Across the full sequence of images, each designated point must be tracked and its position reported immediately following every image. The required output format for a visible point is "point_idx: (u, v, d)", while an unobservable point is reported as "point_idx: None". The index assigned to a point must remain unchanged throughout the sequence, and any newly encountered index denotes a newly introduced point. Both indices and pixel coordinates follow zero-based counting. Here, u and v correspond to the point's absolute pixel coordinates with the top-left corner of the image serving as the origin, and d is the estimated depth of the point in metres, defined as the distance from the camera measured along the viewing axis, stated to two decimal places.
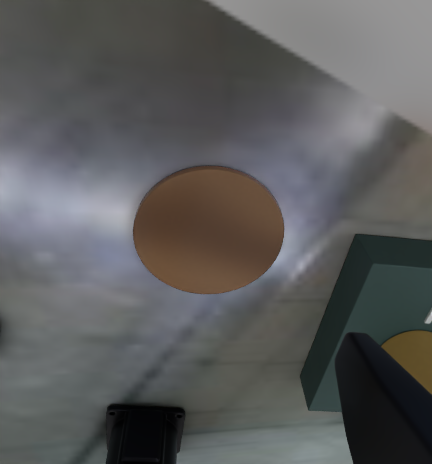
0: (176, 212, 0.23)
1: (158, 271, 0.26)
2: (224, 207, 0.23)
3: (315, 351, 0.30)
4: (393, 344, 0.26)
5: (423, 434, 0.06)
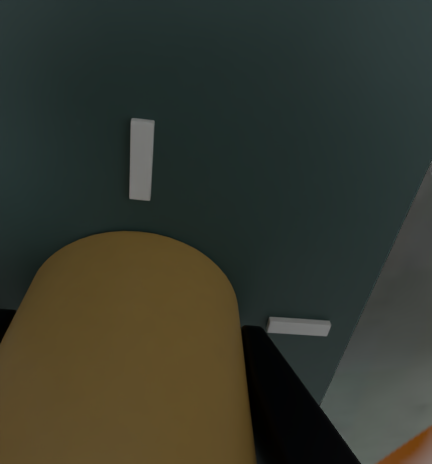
0: None
1: None
2: None
3: None
4: (36, 278, 0.07)
5: (280, 428, 0.06)
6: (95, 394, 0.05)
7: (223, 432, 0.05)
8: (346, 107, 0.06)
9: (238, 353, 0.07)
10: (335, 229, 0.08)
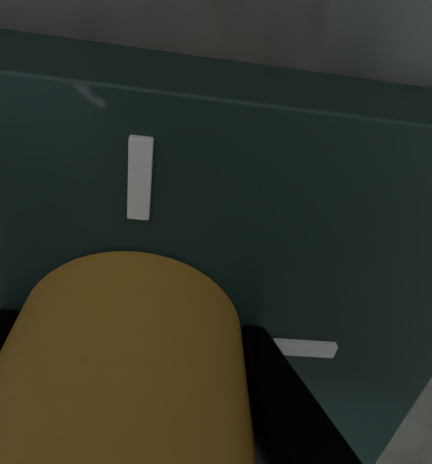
0: None
1: None
2: None
3: None
4: (29, 301, 0.07)
5: (282, 428, 0.06)
6: (88, 440, 0.04)
7: None
8: None
9: (242, 383, 0.06)
10: None
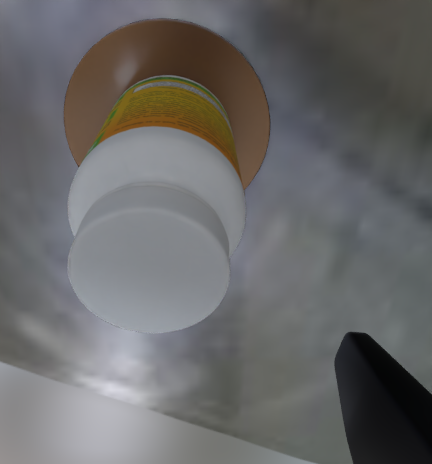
0: None
1: None
2: None
3: None
4: None
5: (423, 434, 0.06)
6: None
7: None
8: None
9: None
10: None
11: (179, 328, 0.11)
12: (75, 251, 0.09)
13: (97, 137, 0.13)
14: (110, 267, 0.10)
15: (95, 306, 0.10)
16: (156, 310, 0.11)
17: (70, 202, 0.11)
